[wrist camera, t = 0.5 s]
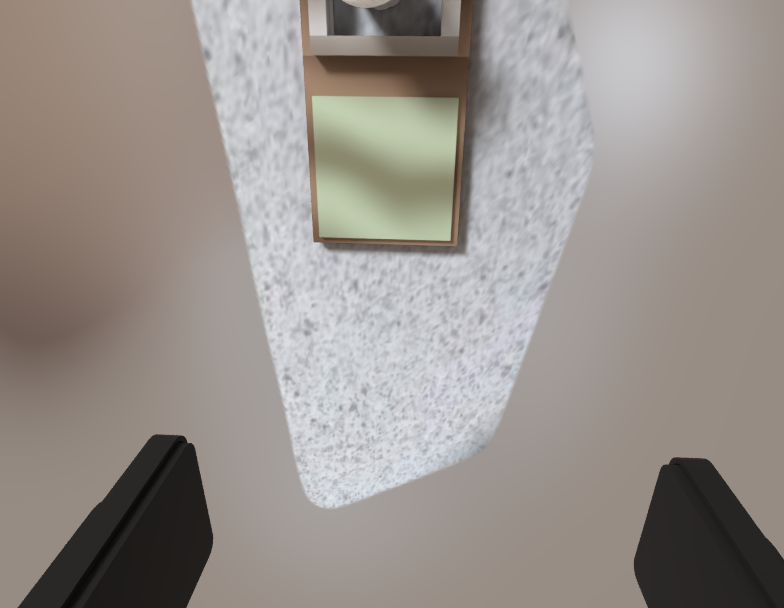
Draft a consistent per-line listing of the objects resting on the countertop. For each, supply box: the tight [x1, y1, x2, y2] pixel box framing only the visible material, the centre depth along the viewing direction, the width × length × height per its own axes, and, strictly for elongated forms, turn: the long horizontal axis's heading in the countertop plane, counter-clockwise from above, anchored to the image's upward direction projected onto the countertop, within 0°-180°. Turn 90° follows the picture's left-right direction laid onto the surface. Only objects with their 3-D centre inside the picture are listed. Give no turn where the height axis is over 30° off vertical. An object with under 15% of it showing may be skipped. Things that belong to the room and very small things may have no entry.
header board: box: [300, 0, 473, 246], centre depth 31 cm, size 22×10×2 cm, turn 179°
